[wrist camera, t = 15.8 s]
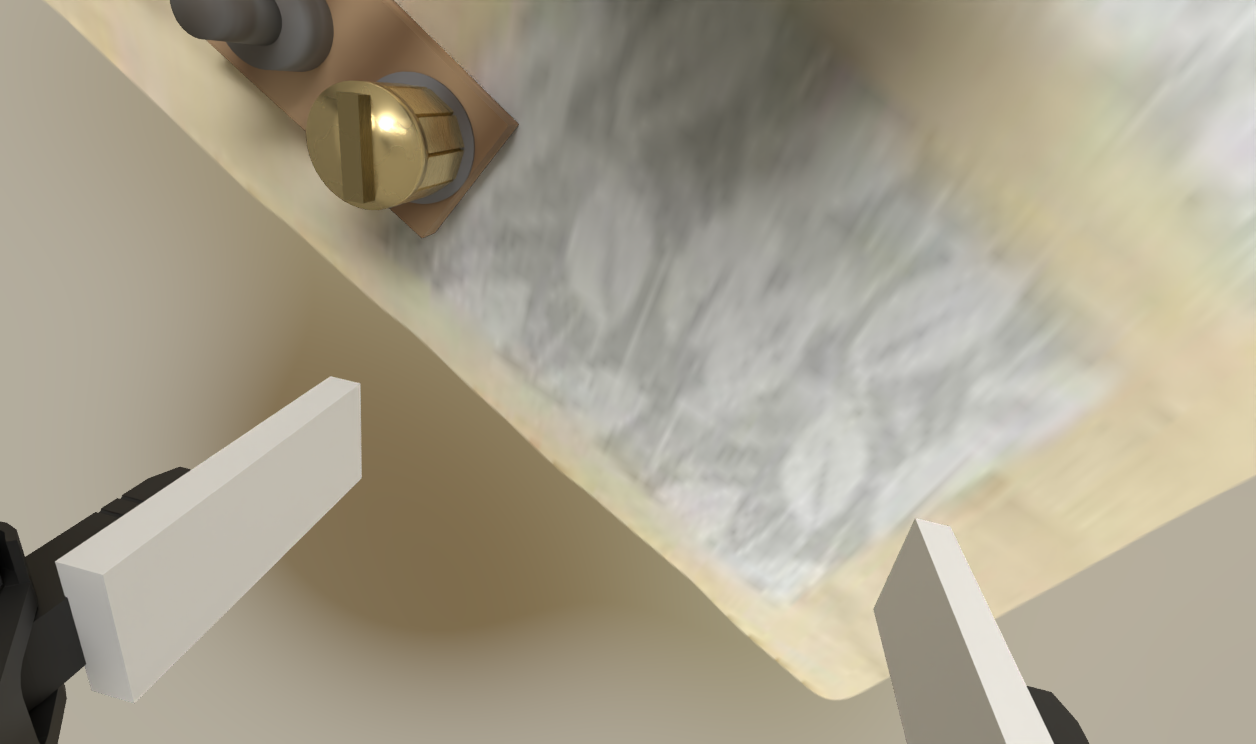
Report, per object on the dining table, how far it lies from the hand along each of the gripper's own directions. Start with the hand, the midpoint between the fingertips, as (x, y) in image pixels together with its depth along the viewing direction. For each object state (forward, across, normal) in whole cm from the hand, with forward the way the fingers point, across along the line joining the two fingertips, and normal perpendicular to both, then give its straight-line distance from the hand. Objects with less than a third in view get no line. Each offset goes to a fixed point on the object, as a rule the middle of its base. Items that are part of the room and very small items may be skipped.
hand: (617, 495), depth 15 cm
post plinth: (+30, -24, +6) cm, 39 cm away
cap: (+28, -19, +3) cm, 34 cm away
